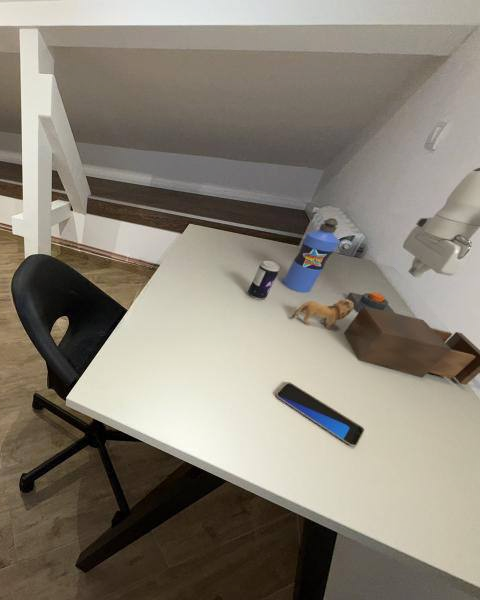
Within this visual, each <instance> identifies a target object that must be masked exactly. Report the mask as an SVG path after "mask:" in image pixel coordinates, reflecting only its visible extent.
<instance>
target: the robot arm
mask: <svg viewBox="0 0 480 600" xmlns="http://www.w3.org/2000/svg"><path fill="white" fill-rule="evenodd" d="M479 229H480V167H477V168H475V169H472V171H470V172H469V173H468V174H467V175H466V176H465V177H464V178H463V179H462V180H461V181H460V182H459V183H458V184H457V185H456V187H454V189H453V190H452V192H451V193H450V194H449V196H448V197H447V198H446V202H445V204H444V205H443V206H442V208H440V209H439V210H438V211H436V213H435V214H434V215H433V217H432V216H431V217H430V216H429V217H420V218H419V219H418V220H417V221H416V223H415V226H414V227H413V229H412V230H410V233H408V235H407V237H406V238H405V240H404V242H403V244H402V248H403V249H404V250H406V251H407V252H409V253H410V254H411V255H412V256H414V258H413V259H412V263H411V267H410V268H409V269H408V271H407V272H408V273H409V274H410V275H411V276H412V277H414V278H421V276H423V274H424V273H426V272H428V271H430V270H432V271H434V272H435V273H436V274H440V275H444V276H448V277H451V276H454V275H455V274H457V273H458V272H459V271H460V270H461V268H462V267H464V265H465V263H466V262H467V261H468V259H469V257H470V255H471V253H472V250H473V248H472V240H470V239H471V238H472V237H473V236H474V235H475V233H477V231H479Z"/></svg>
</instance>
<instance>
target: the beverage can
mask: <svg viewBox="0 0 480 600" xmlns="http://www.w3.org/2000/svg"><path fill="white" fill-rule="evenodd" d="M280 267H281V266H280V265H279V263H277V262H276V261H271V260H263V261H262V263H260V264H259V266H258V268H257V270H256V272H255V275H254V277H253V279H252V281H251V284H250V286H249V287H248V290H247V291H248V292H247V293H248V294H249V296H250V297H251V298H253V299H256V300H262V299H266V298H267V297H268V295H269V292H270V290H271V288H272V287H273V284H274V282H275V280H276V278H277V276H278V275H279V272H280Z"/></svg>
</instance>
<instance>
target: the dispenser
mask: <svg viewBox="0 0 480 600" xmlns="http://www.w3.org/2000/svg"><path fill="white" fill-rule="evenodd" d="M431 328H432V327H431V326H430V325H429V324H428V323H427V322H426V321H425V320H424V319H422V318H417V317H412V316H409V315H404V314H400V313H396V312H395V313H391V312H387V311H383V310H379V309H374V308H370V307H366V306H363V307H362V309H361V310H360V312H359V313H358V312H357V314H356V316H355V317H354V319H353V320H352V321H351V323H350V324H349V325H348V327H347V328H346V330H344V335H345V337H346V339H347V341H348V342H349V344H350V346H351V348H352V350H353V351H354V353H355V355H356V357H357V359H358V361H360V362H364V363H368V364H372V365H375V366H378V367H382V368H386V369H389V370H394V371H396V372H400V373H404V374H407V375H412V376H415V377H419V378H424V377H425V376H426V375H427V374H428V373H430V372H429V371H430V370H431V369H432V368H433V367H434V366H435V365H436V364H437V363H438V362H439V361H440V360H441V359H442V358H443V357H444V356H445V355H446V354H447V353H448V352H449V351H450V350H451V348H450V347H449V346H448V345H447V344H446V341H445V342H444V341H443V340H442V339H441V338H440V337H439V336H438V335H437V334H436V333H435V332H434V331H433V330H432V329H431Z"/></svg>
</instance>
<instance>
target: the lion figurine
mask: <svg viewBox="0 0 480 600" xmlns="http://www.w3.org/2000/svg"><path fill="white" fill-rule="evenodd" d="M353 304H354V303H353V302H352V301H350V300H348V298H347V299H339V300H338V302H336V303H333V305H325V304H320V303H319V302H316V301H307V302H305V303H303V304H302V305H301V306H299V308H297V309H296V310H295V311H294V313H293V314H292V316H290V317H289V319H294V318H298V315H297V314H300V313H304V312H305V316H304V317H303V321H304V324H305V325H306V326H310V324H311V323H310V322H309V321H308V320H309V319H311V317H313V315H315V316H317V317H320V318H321V320H320V323H321V324H325V325H326V329H328V330H332V325H333V324H334V323H335V322H336V321H338V320H343V319H345V318H346V317H347V316H348V315H350V314H351V312H353V310H354V306H353ZM327 319H328V322H326V321H327ZM326 323H327V324H326Z"/></svg>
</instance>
